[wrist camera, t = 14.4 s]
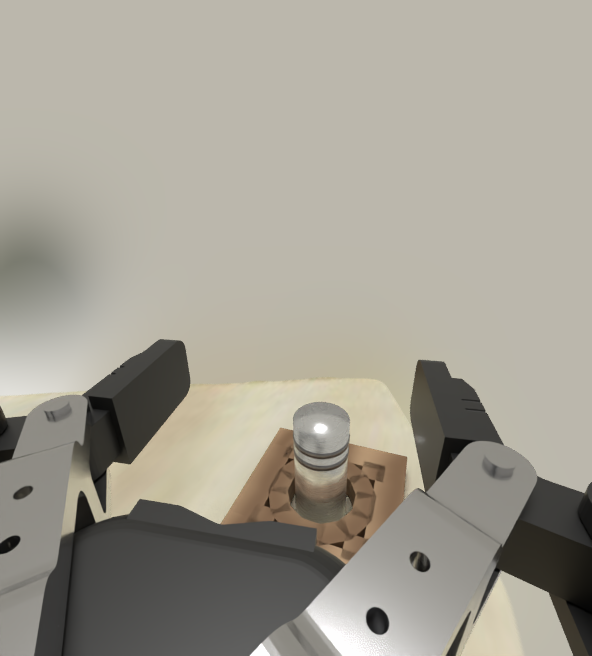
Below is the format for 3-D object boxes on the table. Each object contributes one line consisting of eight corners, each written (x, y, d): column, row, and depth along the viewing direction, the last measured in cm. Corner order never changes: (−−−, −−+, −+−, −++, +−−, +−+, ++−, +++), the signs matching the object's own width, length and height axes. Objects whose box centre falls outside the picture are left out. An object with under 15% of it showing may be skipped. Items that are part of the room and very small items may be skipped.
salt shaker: (288, 525, 34) (283, 430, 29) (304, 485, 39) (303, 397, 34) (339, 542, 32) (342, 444, 28) (350, 497, 37) (355, 407, 32)
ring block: (215, 555, 31) (211, 537, 30) (281, 442, 45) (280, 427, 44) (390, 625, 26) (393, 606, 25) (404, 473, 40) (407, 457, 39)
